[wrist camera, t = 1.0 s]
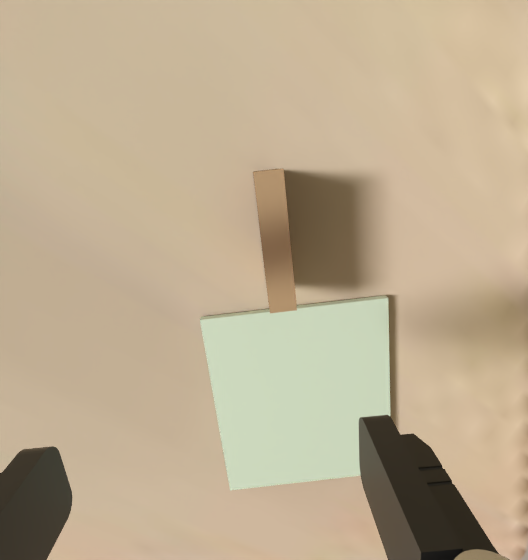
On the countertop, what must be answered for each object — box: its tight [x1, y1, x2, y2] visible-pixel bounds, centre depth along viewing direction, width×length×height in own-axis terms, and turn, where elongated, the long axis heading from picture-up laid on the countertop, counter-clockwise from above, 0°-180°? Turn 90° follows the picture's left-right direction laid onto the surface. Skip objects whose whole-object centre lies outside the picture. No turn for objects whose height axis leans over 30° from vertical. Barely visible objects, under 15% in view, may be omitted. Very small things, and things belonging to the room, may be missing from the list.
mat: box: [200, 295, 390, 490], centre depth 30 cm, size 16×14×1 cm
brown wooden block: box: [253, 169, 297, 313], centre depth 23 cm, size 8×2×6 cm, turn 6°
